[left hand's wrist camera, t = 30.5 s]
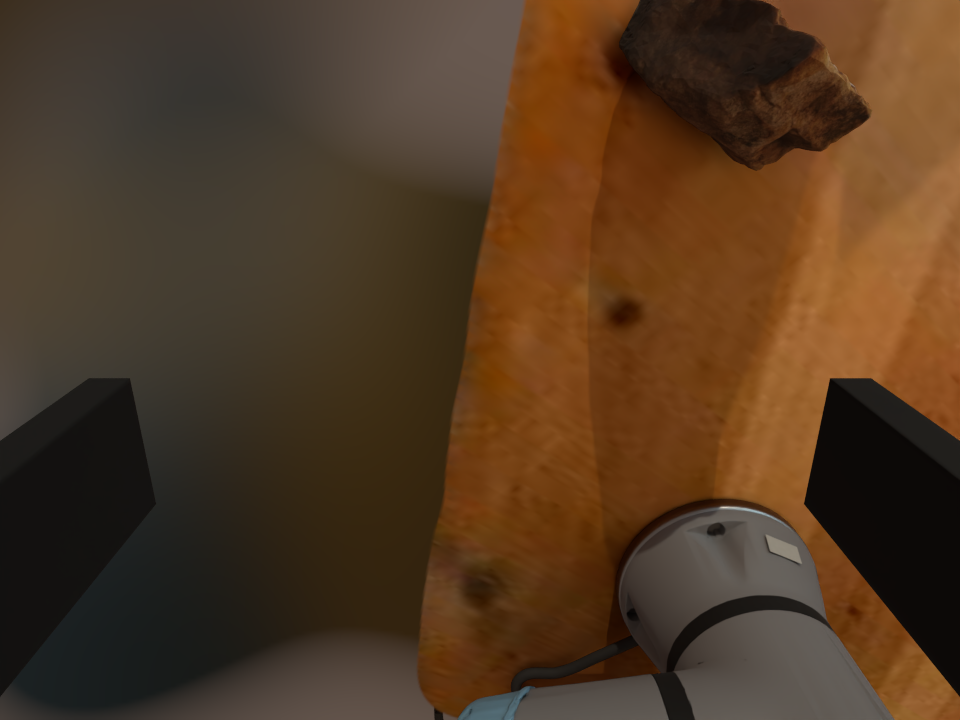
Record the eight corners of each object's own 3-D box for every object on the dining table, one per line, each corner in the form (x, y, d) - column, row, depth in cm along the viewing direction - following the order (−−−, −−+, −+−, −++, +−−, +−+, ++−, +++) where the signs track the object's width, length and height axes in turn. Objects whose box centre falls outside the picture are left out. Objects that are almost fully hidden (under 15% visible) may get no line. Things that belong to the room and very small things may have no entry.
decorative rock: (806, 103, 40) (915, 103, 30) (734, 183, 42) (815, 208, 32) (664, -36, 38) (731, -87, 28) (593, 56, 39) (632, 40, 29)
